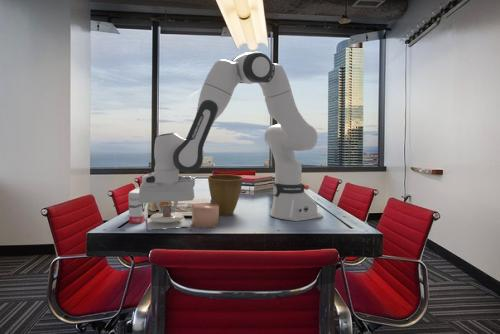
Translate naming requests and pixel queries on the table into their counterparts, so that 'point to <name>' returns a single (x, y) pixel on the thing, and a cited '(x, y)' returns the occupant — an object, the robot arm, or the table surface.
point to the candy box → (153, 206)
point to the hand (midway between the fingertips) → (166, 212)
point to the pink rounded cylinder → (205, 215)
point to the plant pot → (225, 192)
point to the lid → (166, 215)
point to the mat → (165, 224)
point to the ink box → (137, 208)
